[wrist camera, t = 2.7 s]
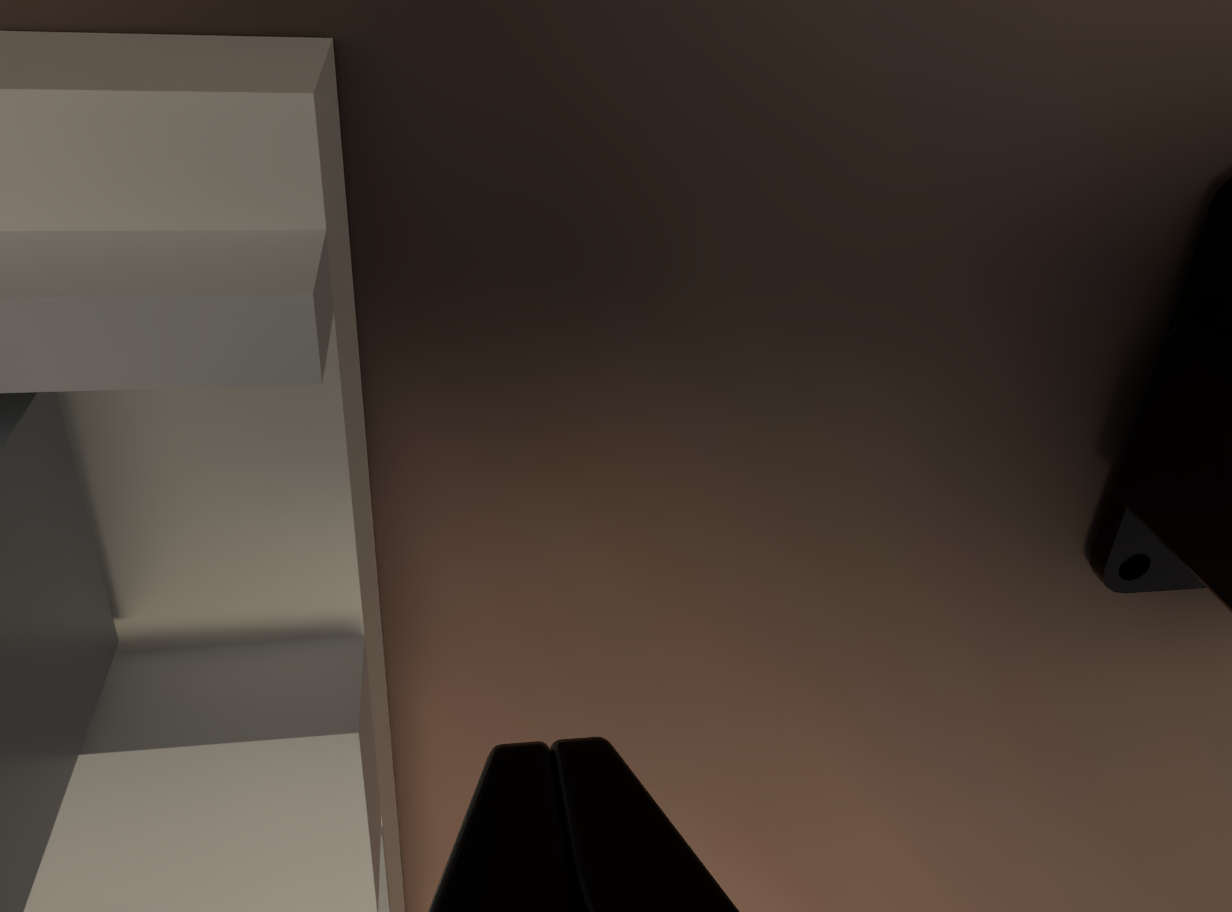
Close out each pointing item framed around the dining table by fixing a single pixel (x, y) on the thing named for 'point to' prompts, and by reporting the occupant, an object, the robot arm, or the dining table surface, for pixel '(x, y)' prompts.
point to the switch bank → (205, 466)
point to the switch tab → (43, 632)
